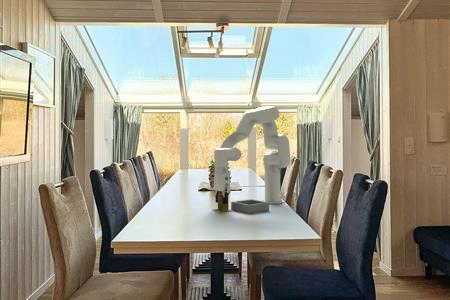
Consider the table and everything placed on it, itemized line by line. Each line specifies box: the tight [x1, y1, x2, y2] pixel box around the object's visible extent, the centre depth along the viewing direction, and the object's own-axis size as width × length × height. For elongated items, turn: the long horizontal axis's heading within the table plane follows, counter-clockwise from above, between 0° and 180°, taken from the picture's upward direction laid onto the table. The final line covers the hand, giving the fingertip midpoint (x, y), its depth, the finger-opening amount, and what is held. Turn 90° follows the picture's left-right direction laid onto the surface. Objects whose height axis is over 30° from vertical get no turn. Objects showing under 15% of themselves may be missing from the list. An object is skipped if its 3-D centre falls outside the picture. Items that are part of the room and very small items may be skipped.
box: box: [230, 199, 270, 214], centre depth 226 cm, size 15×15×4 cm
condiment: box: [212, 190, 231, 213], centre depth 225 cm, size 7×8×12 cm
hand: (221, 202), depth 224 cm, fingers closed on condiment, 6 cm apart
